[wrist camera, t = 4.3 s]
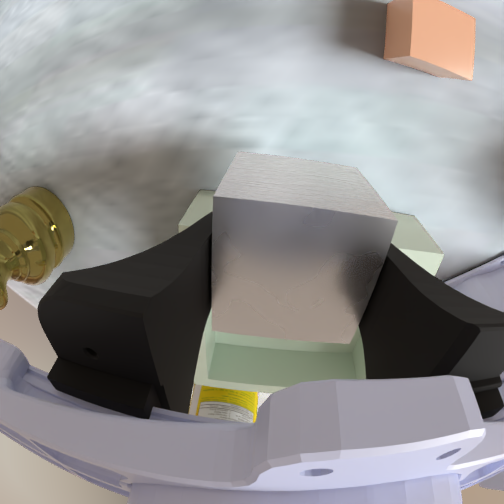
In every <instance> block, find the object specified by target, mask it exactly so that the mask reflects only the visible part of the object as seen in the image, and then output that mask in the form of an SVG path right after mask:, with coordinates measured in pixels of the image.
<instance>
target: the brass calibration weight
mask: <svg viewBox="0 0 504 504" xmlns="http://www.w3.org/2000/svg"><path fill="white" fill-rule="evenodd" d="M73 244H74V229H73V224H72V221H71V218H70V216H69V214H68V212H67V210H66V208H65V207H64V205H63V204H62V202H61V201H60V200H59V199H58V198H57V197H56V196H55V195H54V194H53V193H51V192H50V191H48V190H47V189H44V188H42V187H35V186H34V187H29V188H27V189H25V190H24V191H23V192H21V193H20V194H18V195H16V196H14V197H12V198H11V199H10V201H9V202H8V203H6V204H4V205H2V206H0V310H2V309H3V308H5V306H6V305H7V302H8V295H7V290H6V284H7V281H8V280H15V281H18V282H22V283H25V284H28V285H39V284H42V283H44V282H45V281H46V280H47V279H48V278H49V276H50V275H51V273H52V271H53V269H55V268H57V267H58V266H59V265H60V264H61V262H62V260H63V259H64V258H65V257H66V256H67V255H68V254H69V253H70V251H71V250H72V247H73Z"/></svg>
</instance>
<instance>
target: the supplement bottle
mask: <svg viewBox="0 0 504 504" xmlns="http://www.w3.org/2000/svg"><path fill="white" fill-rule="evenodd" d="M257 405H258V392H252V391H242V390H233V389H225V388H217V387H210V386H204V385H197V384H195V385H194V390H193V394H192V399H191V403H190V408H189V413H188V414H190V415H196V416H202V417H208V418H214V419H221V420H228V421H236V422H245V423H255V422H256V417H257Z"/></svg>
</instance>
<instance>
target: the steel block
mask: <svg viewBox="0 0 504 504" xmlns="http://www.w3.org/2000/svg"><path fill="white" fill-rule="evenodd" d="M397 223H398V220H397V219H396V217H395V216H394V214H393V213H392V212H391V210H390V209H389V208H388V206H387V205H386V204H385V202H384V201H383V200H382V198H381V197H380V196H379V195H378V193H377V192H376V191H375V190H374V188H373V187H372V186H371V184H370V183H369V182H368V181H367V180H366V178H365V177H364V176H363V175H362V173H361V172H360V171H359V170H358V169H357V168H355V167H350V166H344V165H338V164H332V163H326V162H320V161H313V160H306V159H299V158H292V157H284V156H276V155H267V154H258V153H248V152H237V154H236V155H235V157H234V159H233V161H232V163H231V164H230V166H229V168H228V170H227V172H226V173H225V175H224V177H223V179H222V181H221V183H220V184H219V186H218V188H217V190H216V192H215V194H214V195H213V219H212V331H217V332H224V333H232V334H240V335H248V336H257V337H266V338H276V339H286V340H298V341H310V342H325V343H342V344H350V342H351V340H352V338H353V336H354V334H355V332H356V329H357V327H358V325H359V323H360V320H361V318H362V316H363V314H364V311H365V309H366V306H367V304H368V302H369V299H370V297H371V294H372V292H373V289H374V287H375V284H376V282H377V279H378V277H379V274H380V272H381V269H382V266H383V263H384V261H385V258H386V255H387V252H388V250H389V247H390V244H391V241H392V238H393V235H394V232H395V229H396V226H397Z"/></svg>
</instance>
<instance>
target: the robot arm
mask: <svg viewBox="0 0 504 504" xmlns="http://www.w3.org/2000/svg"><path fill="white" fill-rule="evenodd" d="M212 219H213V212H210V213H208V214H207V215H205V216H204V217H203V218H201V219H200V220H198V221H197V222H195V223H194V224H192V225H191V226H190V227H188V228H187V229H185V230H183V231H182V232H180V233H178V234H177V235H175V236H173V237H172V238H170V239H169V240H167V241H165V242H163V243H161V244H159V245H157V246H155V247H153V248H151V249H149V250H146V251H144V252H141V253H139V254H136V255H133V256H131V257H128V258H125V259H122V260H119V261H116V262H113V263H109V264H105V265H101V266H97V267H93V268H88V269H82V270H76V271H70V272H63V273H62V274H61V276H60V277H59V278H58V279H57V280H56V282H55V283H54V284H53V285H52V287H51V288H50V289H49V290H48V292H47V293H46V294H45V295H44V297H43V298H42V299H41V300H40V302H39V305H38V317H39V320H40V323H41V326H42V328H43V330H44V332H45V334H46V336H47V338H48V340H49V341H50V343H51V345H52V347H53V349H54V350H55V352H56V354H57V356H58V358H57V360H56V362H55V364H54V365H53V367H52V369H51V371H50V372H49V373H47V372H45V371H43V370H40V369H38V368H36V367H33V366H31V365H30V364H29V362H28V360H27V358H26V357H25V356H24V354H23V353H22V351H21V350H20V349H18V348H17V347H16V346H14V345H12V344H10V343H8V342H6V341H4V340H2V339H0V432H1V433H3V434H5V435H6V436H7V437H9V438H10V439H12V440H13V441H15V442H17V443H18V444H20V445H21V446H23V447H24V448H26V449H28V450H29V451H31V452H33V453H34V454H36V455H38V456H40V457H41V458H43V459H45V460H47V461H48V462H50V463H52V464H54V465H56V466H58V467H60V468H61V469H63V470H65V471H67V472H69V473H71V474H73V475H76V476H78V477H80V478H82V479H84V480H86V481H88V482H91V483H93V484H95V485H98V486H100V487H102V488H105V489H107V490H110V491H113V492H115V493H118V494H121V495H123V496H126V497H128V501H127V504H463V503H462V495H461V490H463V489H466V488H468V487H470V486H473V485H475V484H477V483H479V486H480V487H483V488H487V489H494V490H502V491H504V255H503V256H501V257H499V258H497V259H495V260H492V261H490V262H488V263H486V264H484V265H482V266H480V267H478V268H475V269H473V270H471V271H469V272H467V273H464V274H462V275H460V276H458V277H455V278H453V279H451V280H448V281H446V282H442V281H441V280H439V279H438V278H436V277H435V276H433V275H432V274H430V273H429V272H427V271H426V270H425V269H423V268H422V267H421V266H420V265H418V264H417V263H416V262H414V261H413V260H412V259H410V258H409V257H408V256H407V255H405V254H404V253H403V252H402V251H401V250H399V249H398V248H397V247H396V246H394V245H393V244H392V243H391V244H390V247H389V250H388V252H387V255H386V258H385V261H384V263H383V266H382V269H381V272H380V274H379V277H378V279H377V282H376V284H375V287H374V289H373V292H372V294H371V297H370V299H369V302H368V304H367V306H366V309H365V311H364V314H363V316H362V318H361V320H360V323H359V325H358V326H359V330H360V334H361V338H362V344H363V350H364V360H365V371H366V379H329V380H319V381H309V382H300V383H298V384H295V385H293V386H290V387H287V388H284V389H282V390H279V391H276V392H275V393H273V394H271V395H270V396H269V397H268V398H267V400H266V401H265V402H264V403H263V404H262V405H261V406H260V407H259V409H258V413H257V417H256V422H255V423H245V422H236V421H228V420H221V419H214V418H208V417H202V416H196V415H190V414H188V413H189V406H190V399H191V394H192V388H193V382H194V376H195V371H196V366H197V361H198V356H199V351H200V346H201V341H202V337H203V333H204V329H205V326H206V322H207V319H208V317H209V314H210V311H211V308H212Z"/></svg>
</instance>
